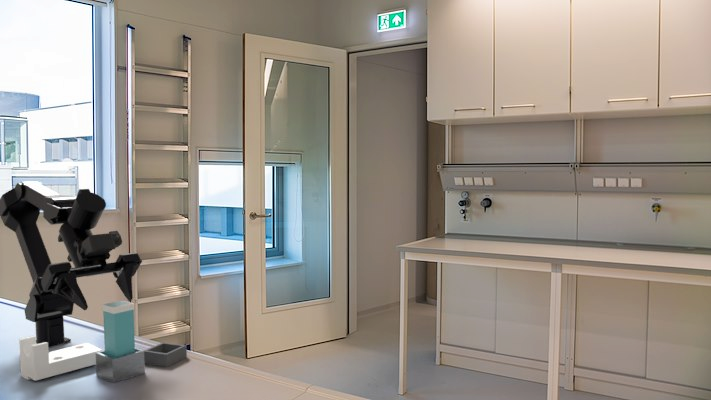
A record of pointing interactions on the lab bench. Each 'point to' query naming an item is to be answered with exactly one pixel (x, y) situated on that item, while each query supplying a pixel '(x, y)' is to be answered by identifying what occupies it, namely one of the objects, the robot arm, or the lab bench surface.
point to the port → (120, 366)
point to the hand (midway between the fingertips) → (109, 304)
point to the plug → (118, 328)
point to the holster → (165, 354)
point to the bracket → (53, 358)
